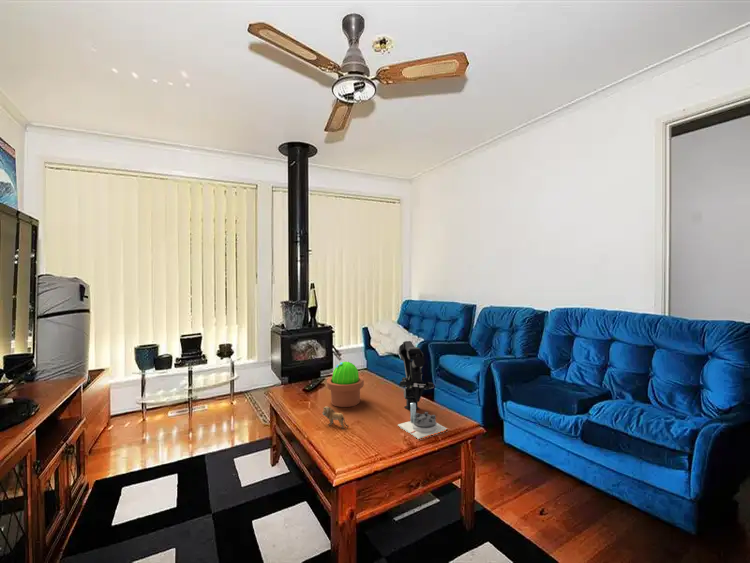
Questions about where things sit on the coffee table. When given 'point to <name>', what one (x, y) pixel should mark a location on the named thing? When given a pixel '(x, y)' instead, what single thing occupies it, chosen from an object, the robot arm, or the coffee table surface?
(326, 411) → the lion figurine
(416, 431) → the mounting plate
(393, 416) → the coffee table surface
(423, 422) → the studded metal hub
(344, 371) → the potted cactus
